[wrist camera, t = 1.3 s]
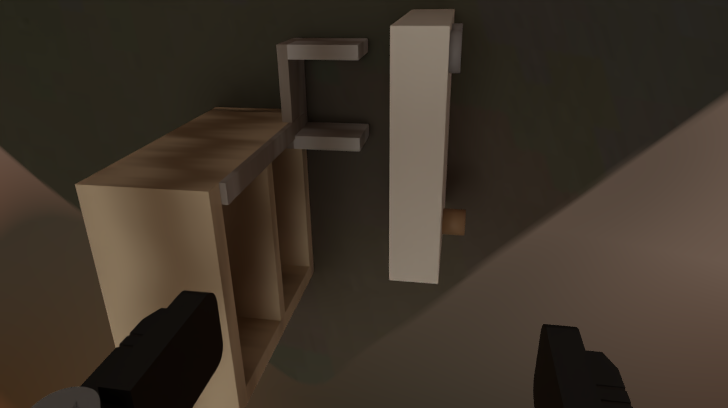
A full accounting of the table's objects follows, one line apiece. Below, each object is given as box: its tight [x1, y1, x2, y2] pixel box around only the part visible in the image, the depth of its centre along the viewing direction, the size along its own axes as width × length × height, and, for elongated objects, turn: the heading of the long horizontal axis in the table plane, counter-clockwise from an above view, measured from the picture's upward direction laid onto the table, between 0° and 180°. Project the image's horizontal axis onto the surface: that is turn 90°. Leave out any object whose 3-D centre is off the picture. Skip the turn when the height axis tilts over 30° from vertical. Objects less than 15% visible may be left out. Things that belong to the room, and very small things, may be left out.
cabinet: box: [75, 38, 369, 408], centre depth 29 cm, size 10×16×14 cm, turn 1°
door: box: [389, 9, 466, 284], centre depth 28 cm, size 12×4×10 cm, turn 1°
